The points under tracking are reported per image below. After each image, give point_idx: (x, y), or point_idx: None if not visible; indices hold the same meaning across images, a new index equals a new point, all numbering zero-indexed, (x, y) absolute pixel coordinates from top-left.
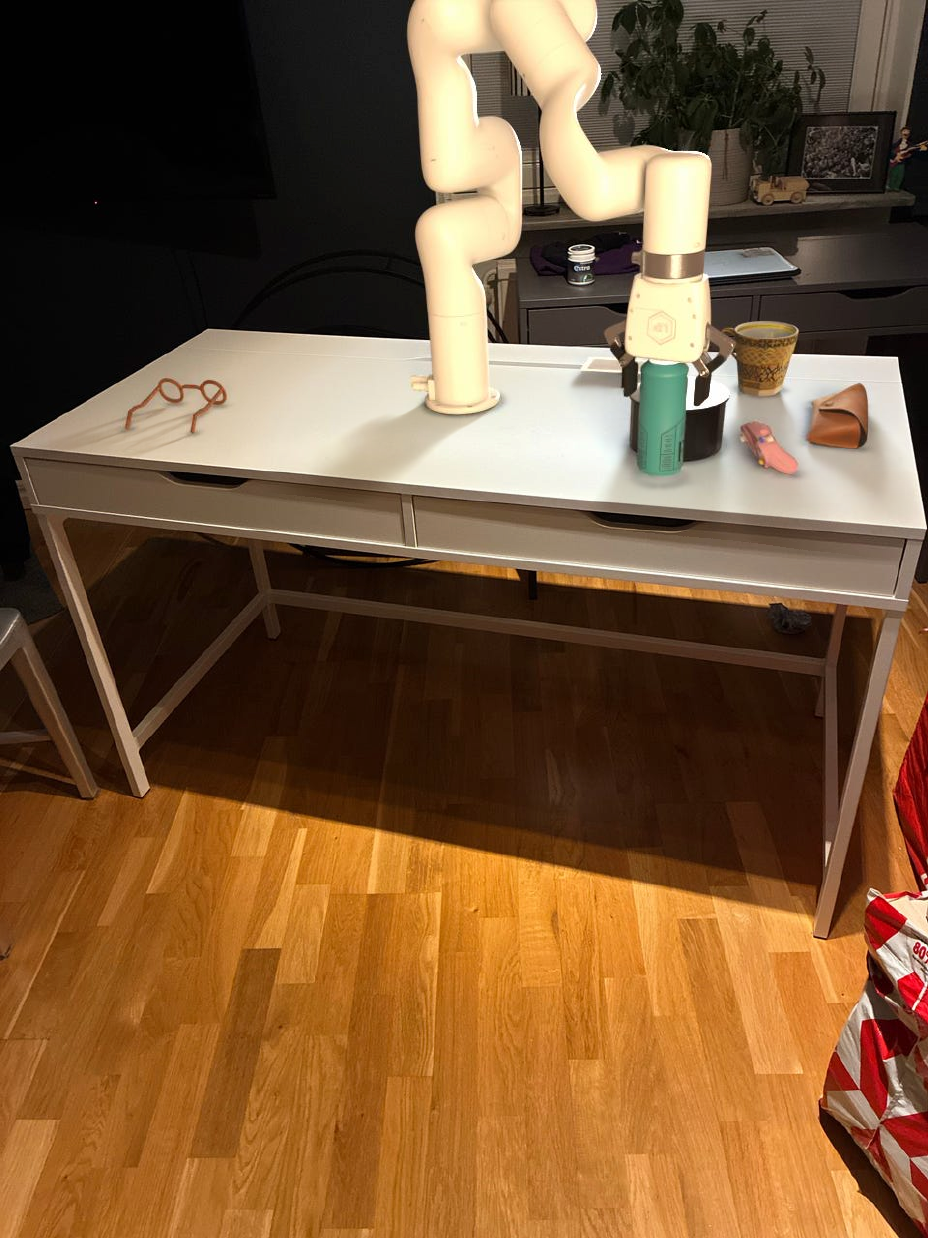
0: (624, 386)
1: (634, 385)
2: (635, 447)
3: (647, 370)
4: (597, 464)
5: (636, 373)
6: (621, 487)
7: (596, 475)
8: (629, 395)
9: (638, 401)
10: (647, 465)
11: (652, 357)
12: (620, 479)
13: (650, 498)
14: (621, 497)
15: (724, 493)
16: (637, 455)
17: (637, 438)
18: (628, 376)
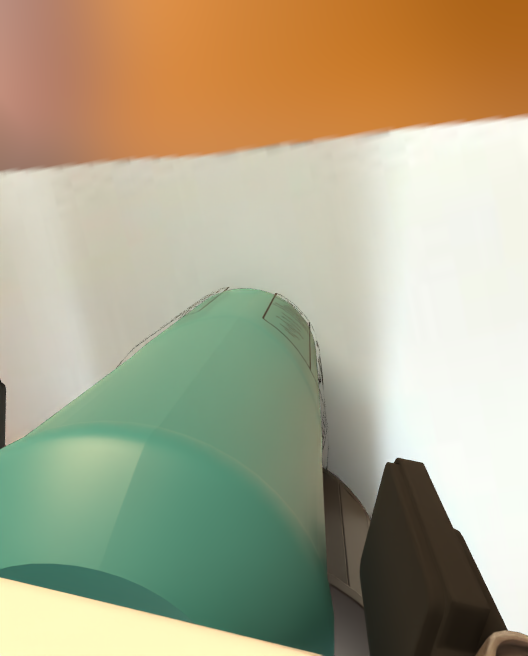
0: (433, 493)
1: (373, 559)
2: (352, 499)
3: (230, 508)
4: (447, 391)
5: (378, 646)
6: (342, 249)
7: (435, 315)
8: (385, 468)
9: (364, 614)
10: (269, 296)
11: (112, 605)
12: (357, 303)
13: (243, 196)
14: (328, 179)
15: (63, 282)
16: (313, 345)
17: (349, 513)
18: (425, 549)
